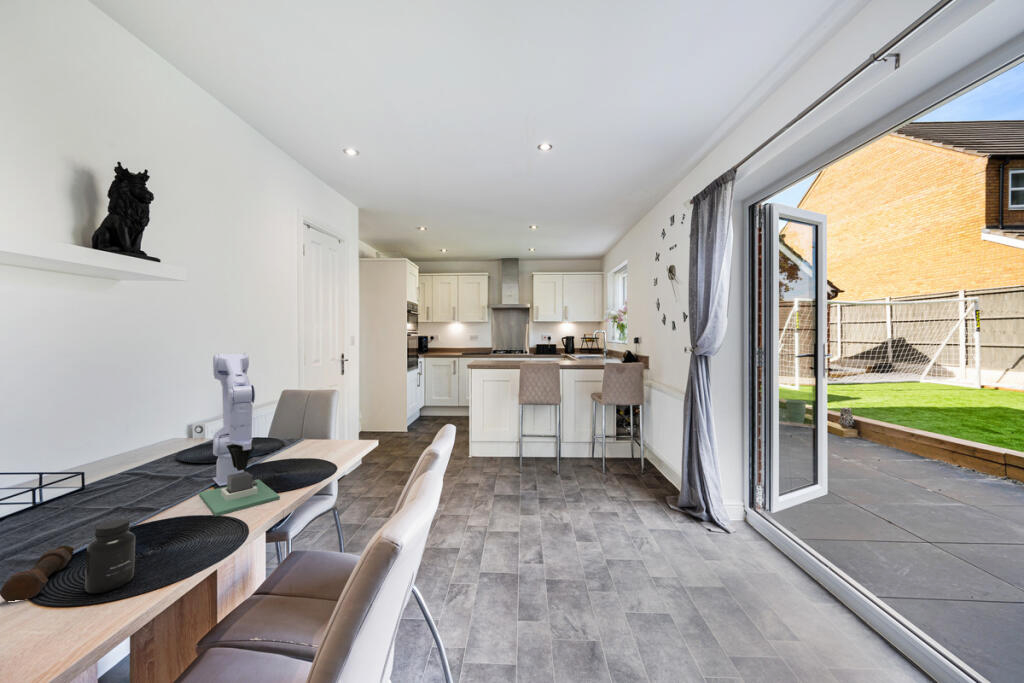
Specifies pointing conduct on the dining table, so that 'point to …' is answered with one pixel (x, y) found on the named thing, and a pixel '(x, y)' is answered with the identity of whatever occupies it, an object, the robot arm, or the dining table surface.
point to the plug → (239, 482)
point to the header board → (237, 498)
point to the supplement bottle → (110, 557)
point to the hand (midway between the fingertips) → (239, 468)
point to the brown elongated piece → (36, 575)
